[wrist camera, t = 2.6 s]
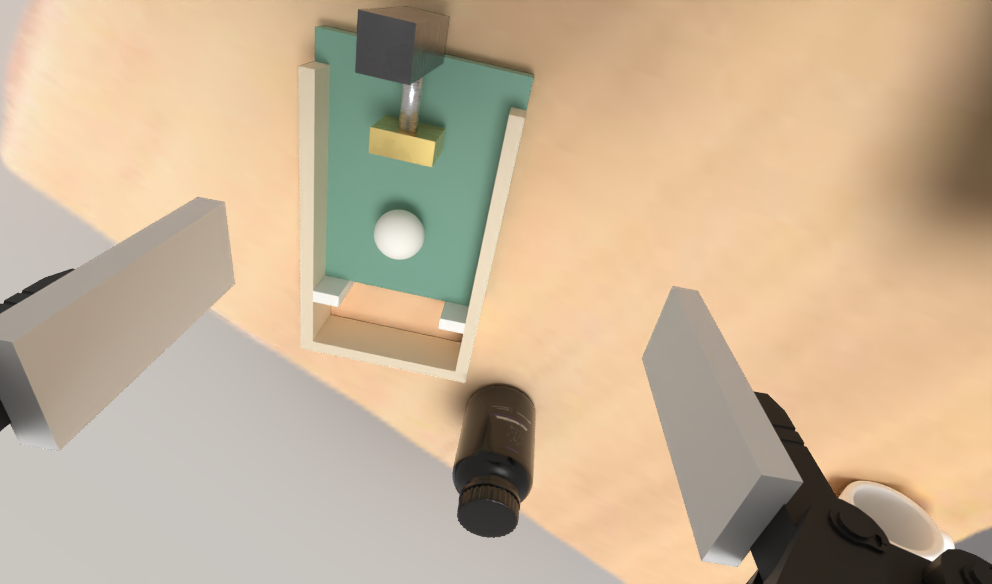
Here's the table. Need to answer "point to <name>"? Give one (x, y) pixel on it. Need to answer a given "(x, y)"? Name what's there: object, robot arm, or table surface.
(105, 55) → the table surface
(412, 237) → the ball
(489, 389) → the supplement bottle
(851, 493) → the mug
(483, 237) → the pitch
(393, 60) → the uneven dumbbell
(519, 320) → the table surface
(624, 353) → the table surface
